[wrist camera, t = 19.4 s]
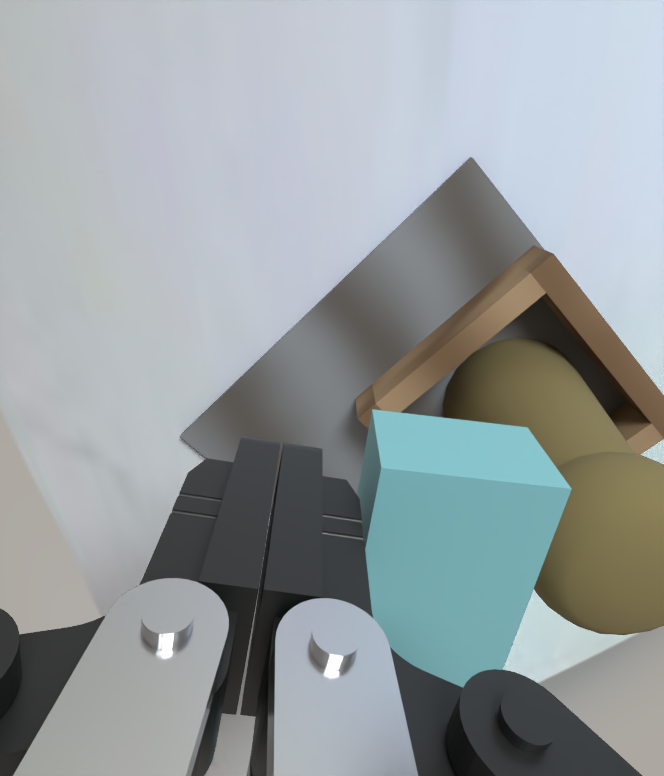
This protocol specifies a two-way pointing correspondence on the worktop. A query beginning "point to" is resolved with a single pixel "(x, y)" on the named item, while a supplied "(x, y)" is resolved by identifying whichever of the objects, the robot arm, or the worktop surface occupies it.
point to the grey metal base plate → (425, 335)
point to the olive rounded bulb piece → (577, 484)
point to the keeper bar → (454, 536)
